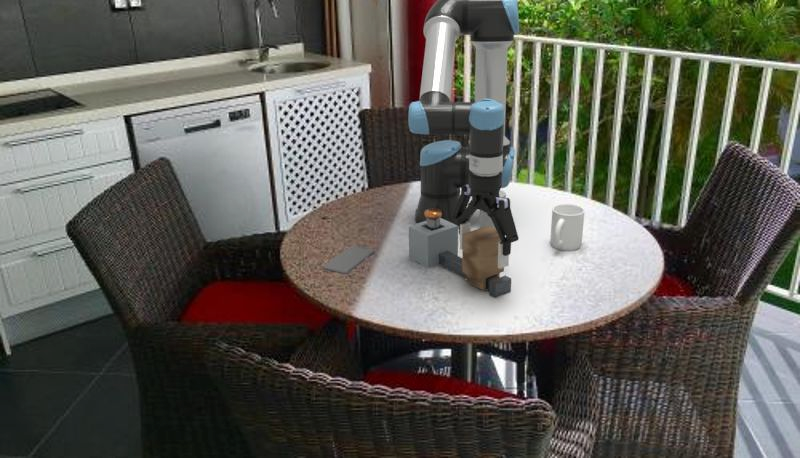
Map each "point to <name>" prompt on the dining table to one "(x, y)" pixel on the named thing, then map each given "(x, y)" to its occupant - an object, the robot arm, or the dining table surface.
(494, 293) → the rail
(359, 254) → the smartphone
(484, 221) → the white printed can
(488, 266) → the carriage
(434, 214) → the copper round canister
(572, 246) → the mug
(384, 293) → the dining table surface
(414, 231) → the grey block with hole
